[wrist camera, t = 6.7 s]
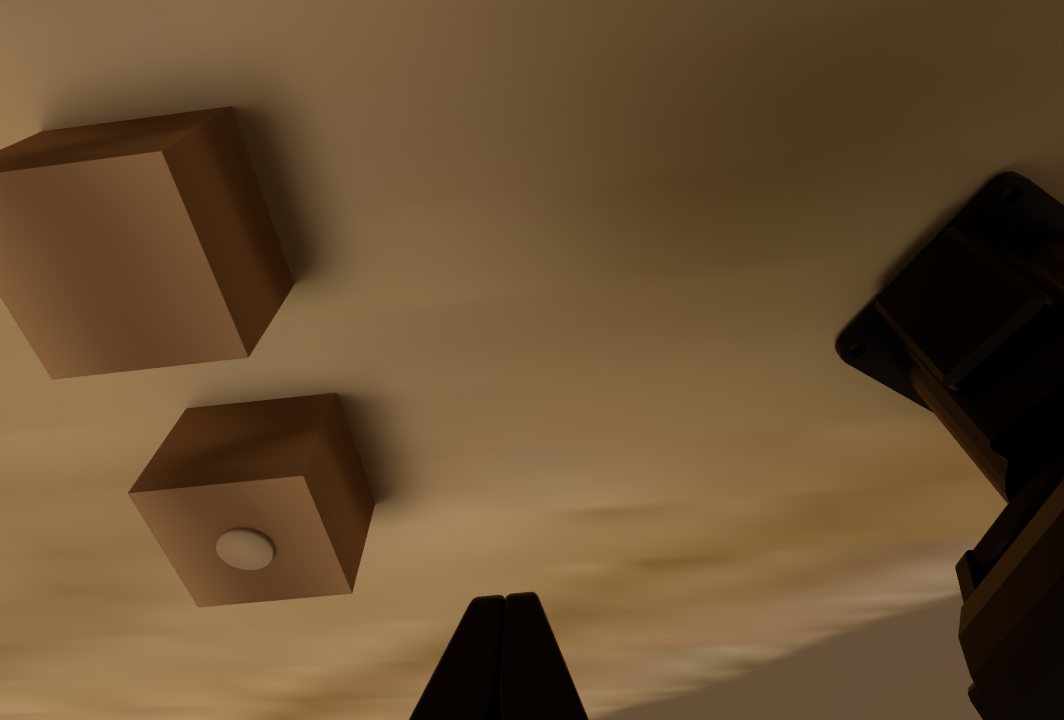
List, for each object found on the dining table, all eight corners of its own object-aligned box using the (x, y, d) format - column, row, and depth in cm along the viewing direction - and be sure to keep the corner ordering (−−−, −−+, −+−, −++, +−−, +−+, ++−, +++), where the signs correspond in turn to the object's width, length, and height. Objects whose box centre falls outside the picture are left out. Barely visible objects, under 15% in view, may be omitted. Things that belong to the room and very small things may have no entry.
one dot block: (336, 390, 22) (301, 480, 18) (375, 501, 25) (350, 598, 21) (187, 405, 22) (124, 498, 19) (242, 514, 25) (195, 612, 21)
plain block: (232, 104, 17) (161, 151, 14) (295, 283, 20) (248, 357, 16) (44, 130, 17) (-72, 181, 14) (131, 302, 20) (52, 379, 17)
